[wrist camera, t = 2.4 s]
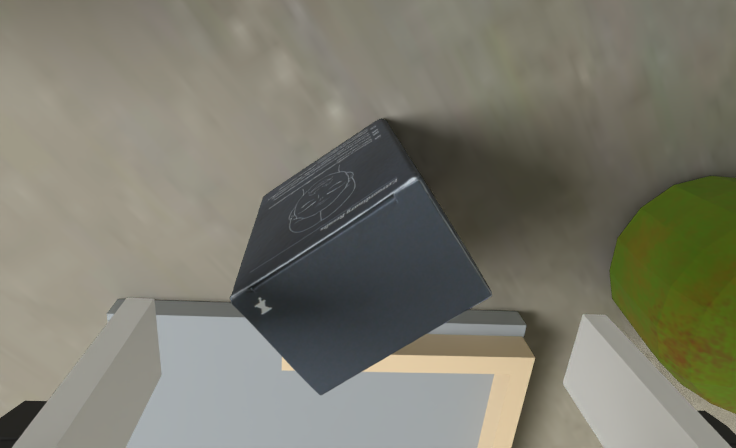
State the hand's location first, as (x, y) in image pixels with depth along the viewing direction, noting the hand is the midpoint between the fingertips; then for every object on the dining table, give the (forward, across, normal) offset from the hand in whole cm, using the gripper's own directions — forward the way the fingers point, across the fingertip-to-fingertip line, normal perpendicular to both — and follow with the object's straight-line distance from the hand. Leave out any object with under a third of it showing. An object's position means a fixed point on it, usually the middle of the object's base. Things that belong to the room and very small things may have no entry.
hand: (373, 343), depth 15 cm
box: (+13, 0, 0) cm, 13 cm away
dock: (+13, -1, -15) cm, 19 cm away
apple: (+13, +20, -2) cm, 24 cm away
